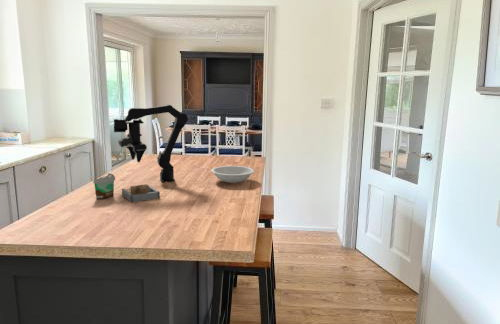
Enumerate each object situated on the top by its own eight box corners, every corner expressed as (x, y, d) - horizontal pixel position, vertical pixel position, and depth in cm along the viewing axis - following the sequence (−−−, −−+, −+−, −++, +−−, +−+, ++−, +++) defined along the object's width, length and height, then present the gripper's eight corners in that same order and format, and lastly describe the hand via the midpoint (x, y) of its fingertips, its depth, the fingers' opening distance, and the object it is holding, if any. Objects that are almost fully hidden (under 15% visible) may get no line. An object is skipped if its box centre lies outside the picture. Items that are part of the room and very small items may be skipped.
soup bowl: (245, 189, 190) (245, 176, 189) (203, 184, 198) (203, 172, 197) (259, 179, 212) (260, 167, 211) (222, 175, 220) (222, 164, 219)
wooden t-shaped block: (147, 194, 178) (146, 184, 177) (153, 198, 171) (152, 187, 170) (130, 196, 173) (130, 186, 172) (136, 200, 167) (135, 190, 166)
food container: (106, 201, 165) (105, 179, 163) (94, 200, 167) (93, 178, 165) (121, 194, 177) (120, 173, 175) (109, 193, 178) (108, 173, 176)
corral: (149, 191, 183) (149, 185, 182) (159, 197, 172) (159, 191, 171) (122, 195, 175) (121, 188, 175) (131, 202, 164) (130, 196, 164)
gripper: (114, 130, 197) (115, 159, 200) (124, 134, 182) (125, 165, 185) (134, 130, 203) (135, 157, 206) (146, 133, 188) (147, 163, 191)
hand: (135, 160), depth 197 cm, fingers open, 9 cm apart
